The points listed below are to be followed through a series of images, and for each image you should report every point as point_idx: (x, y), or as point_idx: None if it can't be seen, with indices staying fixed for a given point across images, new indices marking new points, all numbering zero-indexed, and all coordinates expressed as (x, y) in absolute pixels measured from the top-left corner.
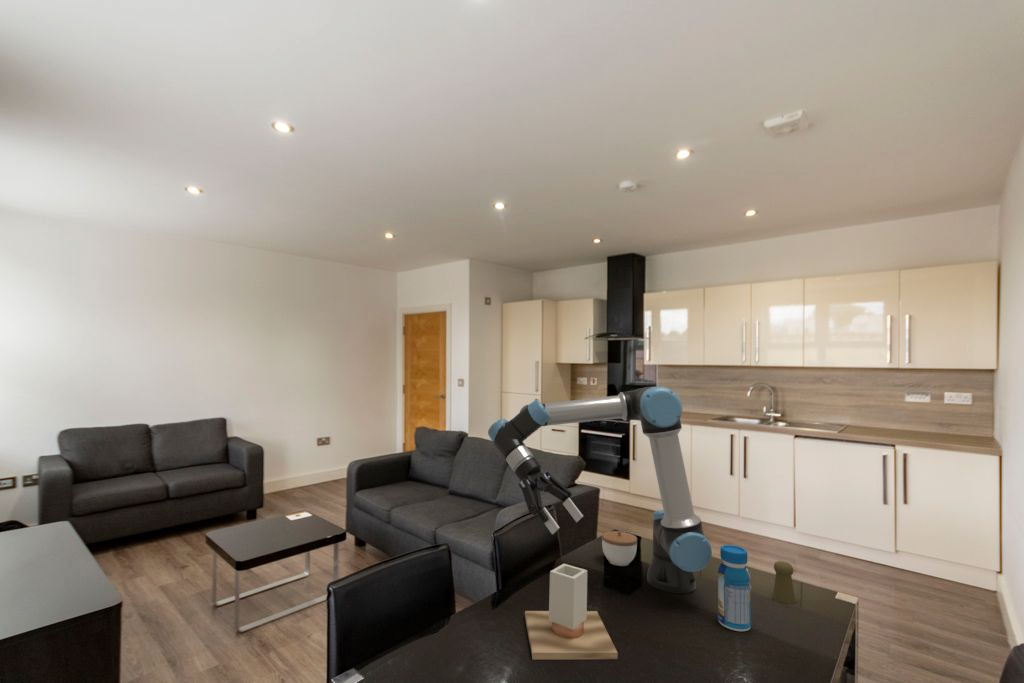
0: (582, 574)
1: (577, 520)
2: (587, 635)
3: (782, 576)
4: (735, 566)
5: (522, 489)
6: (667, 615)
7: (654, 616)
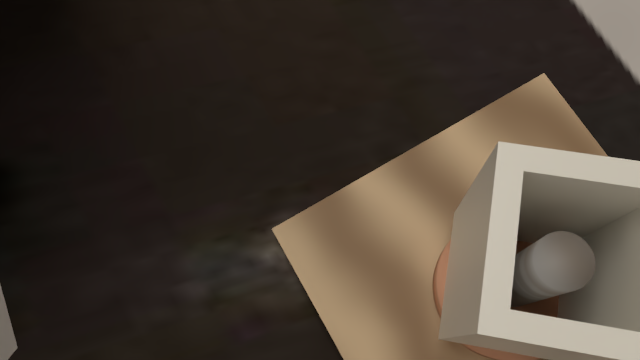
0: (571, 153)
1: (6, 331)
2: None
3: None
4: None
5: None
6: (133, 5)
7: (162, 42)
